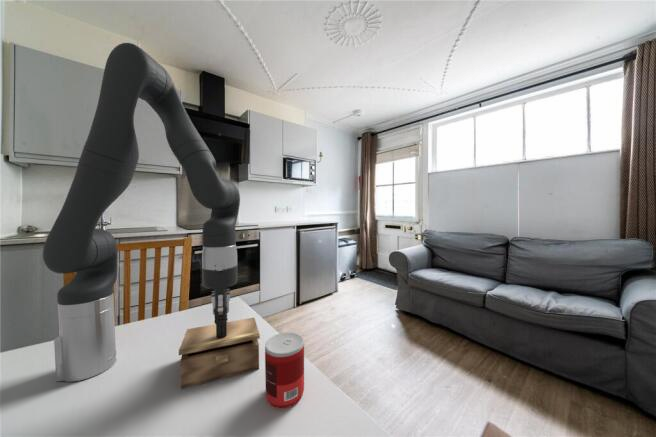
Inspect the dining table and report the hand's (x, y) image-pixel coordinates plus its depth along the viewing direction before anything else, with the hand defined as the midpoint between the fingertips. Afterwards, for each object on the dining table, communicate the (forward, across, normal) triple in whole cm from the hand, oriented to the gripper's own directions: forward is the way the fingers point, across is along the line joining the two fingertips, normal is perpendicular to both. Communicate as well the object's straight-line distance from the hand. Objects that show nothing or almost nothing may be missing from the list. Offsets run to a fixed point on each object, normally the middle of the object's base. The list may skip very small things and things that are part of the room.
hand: (221, 336), depth 57 cm
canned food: (+8, +14, +12) cm, 20 cm away
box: (+8, -2, 0) cm, 8 cm away
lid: (+1, -3, 0) cm, 3 cm away
